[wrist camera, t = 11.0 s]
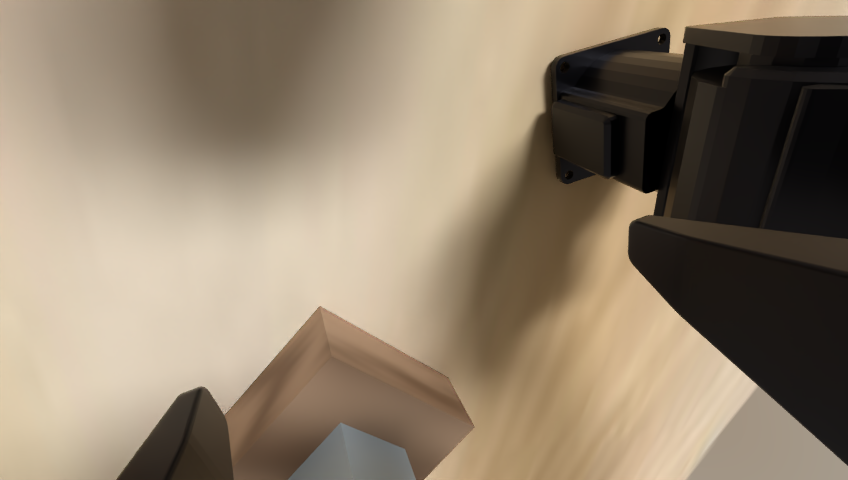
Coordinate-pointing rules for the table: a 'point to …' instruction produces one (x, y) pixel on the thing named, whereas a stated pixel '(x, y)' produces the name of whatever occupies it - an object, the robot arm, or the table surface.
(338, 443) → the slate block
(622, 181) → the robot arm
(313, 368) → the walnut plinth
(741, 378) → the table surface
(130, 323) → the table surface
